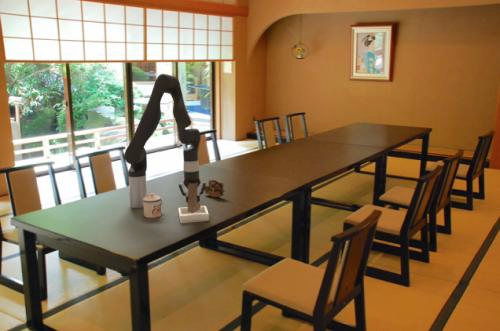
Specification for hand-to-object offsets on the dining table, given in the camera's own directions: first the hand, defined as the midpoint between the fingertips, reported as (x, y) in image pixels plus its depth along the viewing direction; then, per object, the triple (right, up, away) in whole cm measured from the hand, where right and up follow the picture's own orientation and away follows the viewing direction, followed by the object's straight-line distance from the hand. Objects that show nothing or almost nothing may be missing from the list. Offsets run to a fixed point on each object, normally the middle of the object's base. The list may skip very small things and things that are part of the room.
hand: (193, 202), depth 247 cm
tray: (0, -8, +1) cm, 8 cm away
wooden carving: (+8, 0, +37) cm, 38 cm away
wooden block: (0, -4, +1) cm, 4 cm away
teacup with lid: (-20, -7, +8) cm, 23 cm away
